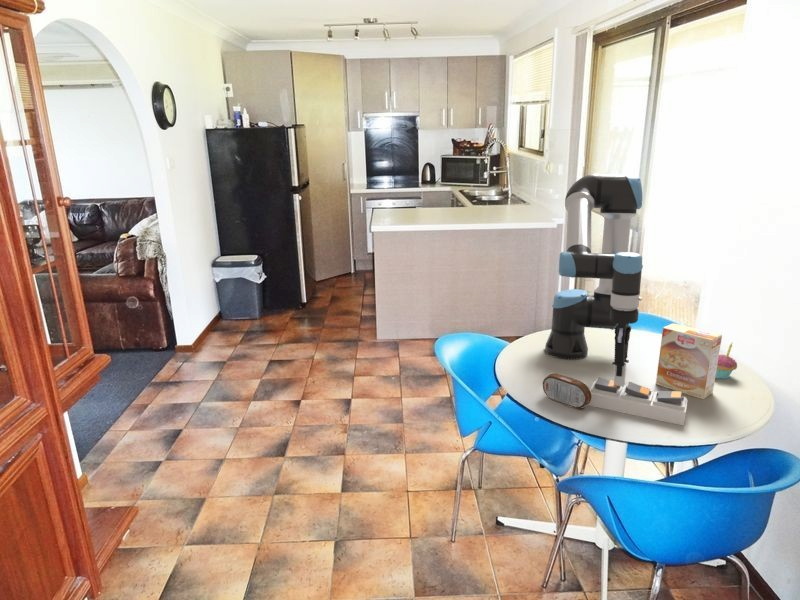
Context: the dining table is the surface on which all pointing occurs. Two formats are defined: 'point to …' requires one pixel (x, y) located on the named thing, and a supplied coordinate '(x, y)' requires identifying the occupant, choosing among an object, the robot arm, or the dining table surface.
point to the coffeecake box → (688, 360)
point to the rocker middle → (637, 390)
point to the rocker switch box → (639, 405)
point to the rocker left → (606, 385)
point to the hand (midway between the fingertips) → (619, 384)
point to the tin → (566, 390)
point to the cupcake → (725, 365)
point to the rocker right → (670, 397)
